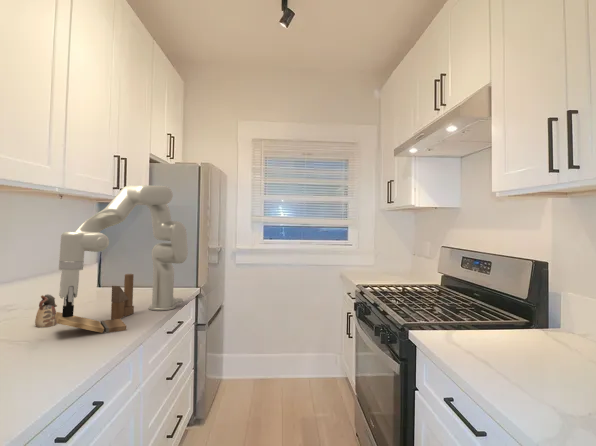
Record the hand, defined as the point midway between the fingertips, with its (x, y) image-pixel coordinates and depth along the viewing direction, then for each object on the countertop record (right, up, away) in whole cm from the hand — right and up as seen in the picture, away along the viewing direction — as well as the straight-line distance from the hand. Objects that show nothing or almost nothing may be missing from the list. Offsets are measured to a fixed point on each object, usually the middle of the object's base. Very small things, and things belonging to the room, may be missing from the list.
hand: (67, 316), depth 125 cm
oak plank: (+2, -4, +3) cm, 5 cm away
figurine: (-15, -6, +10) cm, 19 cm away
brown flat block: (+11, -7, +10) cm, 16 cm away
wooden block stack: (+7, -7, +26) cm, 28 cm away
